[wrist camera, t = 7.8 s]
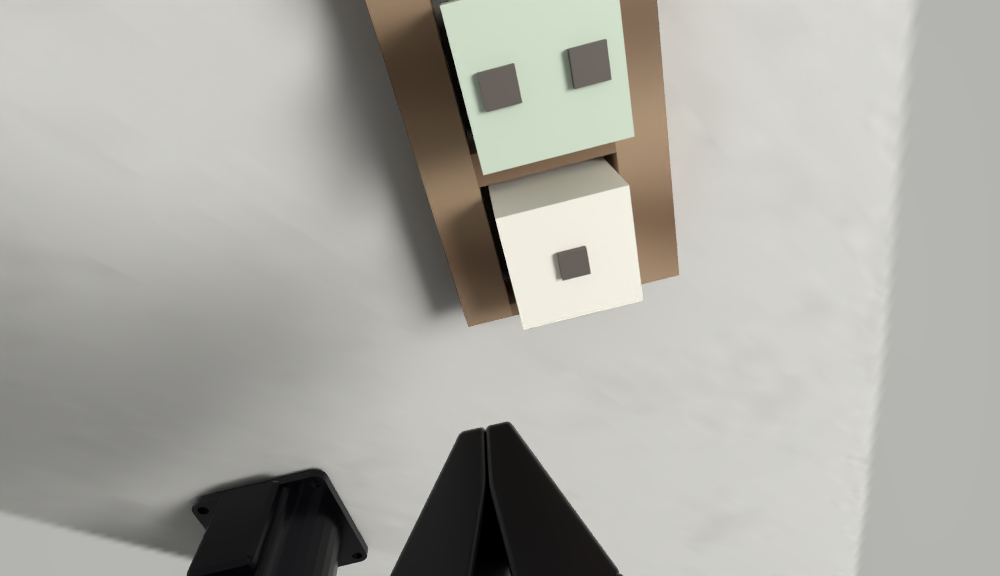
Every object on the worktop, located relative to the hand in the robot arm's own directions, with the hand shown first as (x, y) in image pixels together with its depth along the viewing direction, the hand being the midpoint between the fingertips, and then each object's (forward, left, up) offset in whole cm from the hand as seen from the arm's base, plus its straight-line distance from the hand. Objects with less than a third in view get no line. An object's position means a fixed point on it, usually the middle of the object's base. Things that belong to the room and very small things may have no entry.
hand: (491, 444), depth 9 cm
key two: (+4, -3, -11) cm, 12 cm away
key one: (-1, -3, -12) cm, 13 cm away
